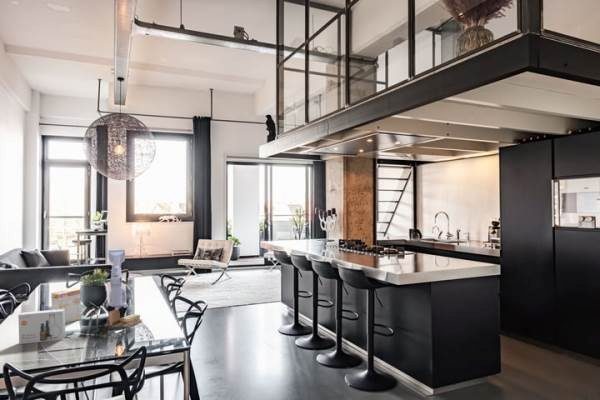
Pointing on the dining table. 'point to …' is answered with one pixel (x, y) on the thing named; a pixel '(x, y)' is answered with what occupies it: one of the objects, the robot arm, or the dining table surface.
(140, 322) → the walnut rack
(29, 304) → the dining table surface
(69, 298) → the coffeecake box
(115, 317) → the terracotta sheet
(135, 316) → the plywood offcut stack
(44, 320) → the skincare box
